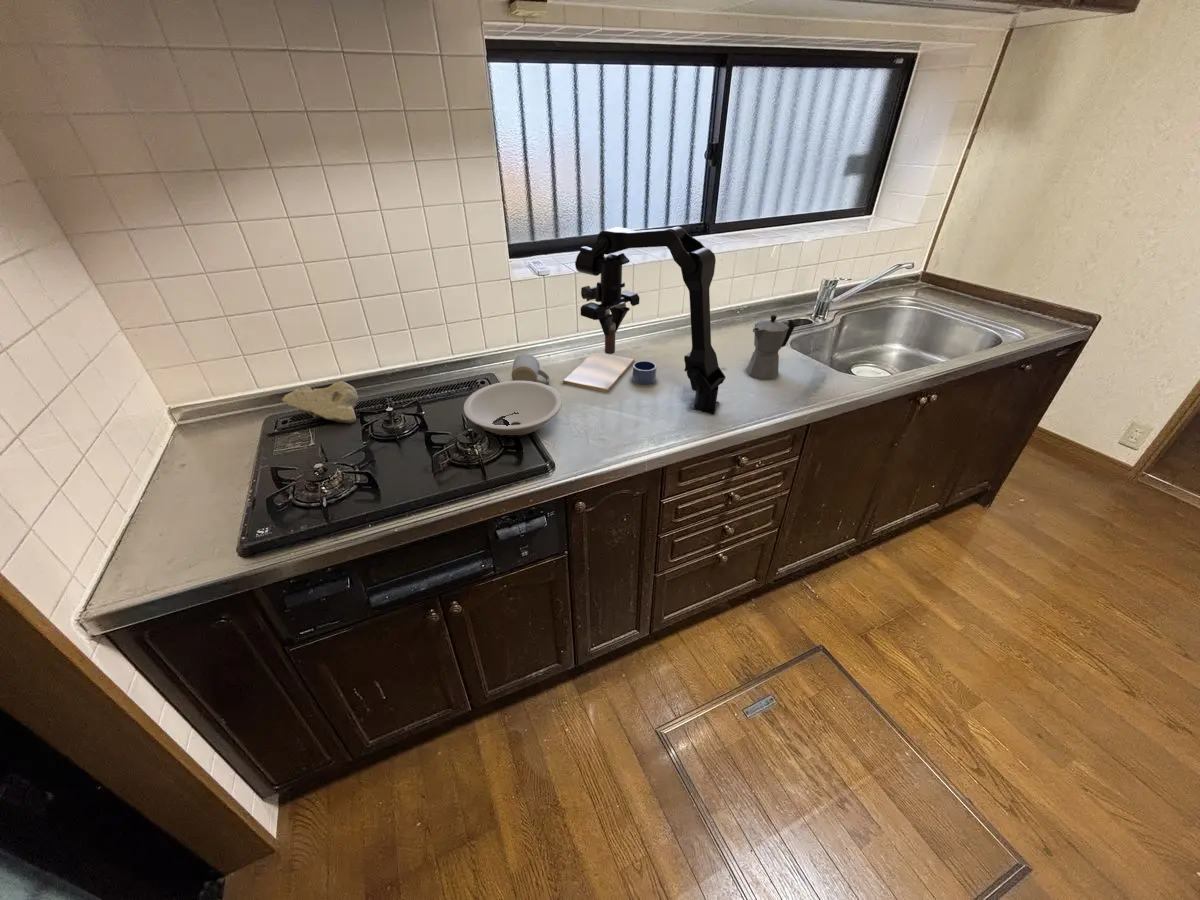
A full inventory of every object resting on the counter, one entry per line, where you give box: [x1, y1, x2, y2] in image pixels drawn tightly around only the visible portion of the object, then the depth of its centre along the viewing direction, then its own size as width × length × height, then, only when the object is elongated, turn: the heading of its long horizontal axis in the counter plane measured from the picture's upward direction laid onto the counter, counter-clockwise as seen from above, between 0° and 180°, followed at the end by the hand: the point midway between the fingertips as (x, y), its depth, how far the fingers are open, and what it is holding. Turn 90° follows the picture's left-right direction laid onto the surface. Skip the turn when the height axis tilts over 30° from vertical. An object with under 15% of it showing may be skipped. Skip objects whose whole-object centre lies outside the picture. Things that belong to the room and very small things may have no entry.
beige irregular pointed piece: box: [281, 380, 359, 424], centre depth 128 cm, size 15×7×15 cm
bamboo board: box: [562, 351, 635, 393], centre depth 151 cm, size 22×14×1 cm, turn 157°
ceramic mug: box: [511, 353, 551, 386], centre depth 143 cm, size 11×8×8 cm
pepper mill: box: [604, 322, 616, 355], centre depth 143 cm, size 3×3×9 cm
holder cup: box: [631, 360, 658, 386], centre depth 145 cm, size 7×7×5 cm
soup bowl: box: [463, 380, 563, 436], centre depth 125 cm, size 24×24×7 cm
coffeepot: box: [746, 314, 796, 381], centre depth 147 cm, size 15×9×18 cm, turn 116°
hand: (610, 334), depth 143 cm, fingers closed on pepper mill, 3 cm apart
